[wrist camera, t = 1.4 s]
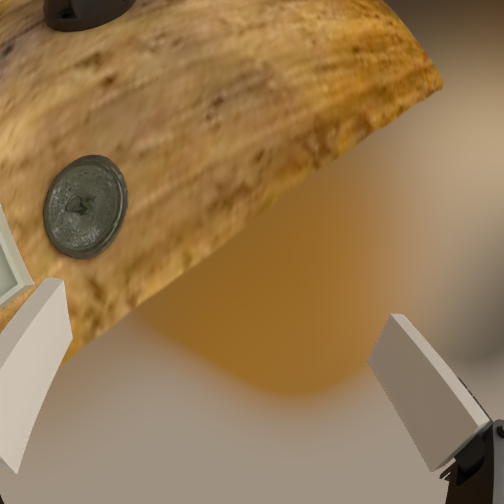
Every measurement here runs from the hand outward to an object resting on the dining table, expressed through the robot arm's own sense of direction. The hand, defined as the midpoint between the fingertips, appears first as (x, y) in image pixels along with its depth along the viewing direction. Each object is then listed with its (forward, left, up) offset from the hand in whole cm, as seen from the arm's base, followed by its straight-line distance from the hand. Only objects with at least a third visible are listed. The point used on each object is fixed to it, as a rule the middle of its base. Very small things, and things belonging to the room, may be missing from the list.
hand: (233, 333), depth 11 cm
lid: (-12, -4, -22) cm, 25 cm away
